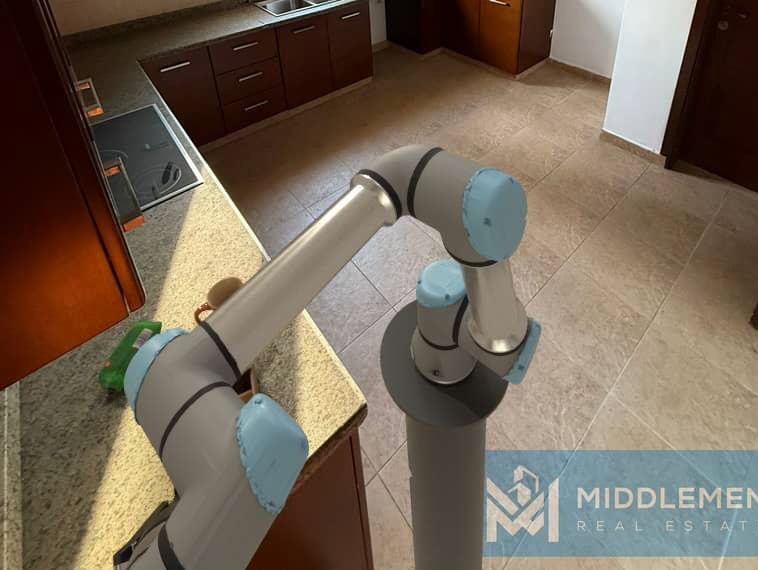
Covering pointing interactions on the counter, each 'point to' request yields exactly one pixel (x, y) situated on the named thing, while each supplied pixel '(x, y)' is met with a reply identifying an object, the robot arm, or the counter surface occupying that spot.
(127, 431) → the counter surface
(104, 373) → the snack package
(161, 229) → the counter surface
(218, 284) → the mug
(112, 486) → the counter surface
